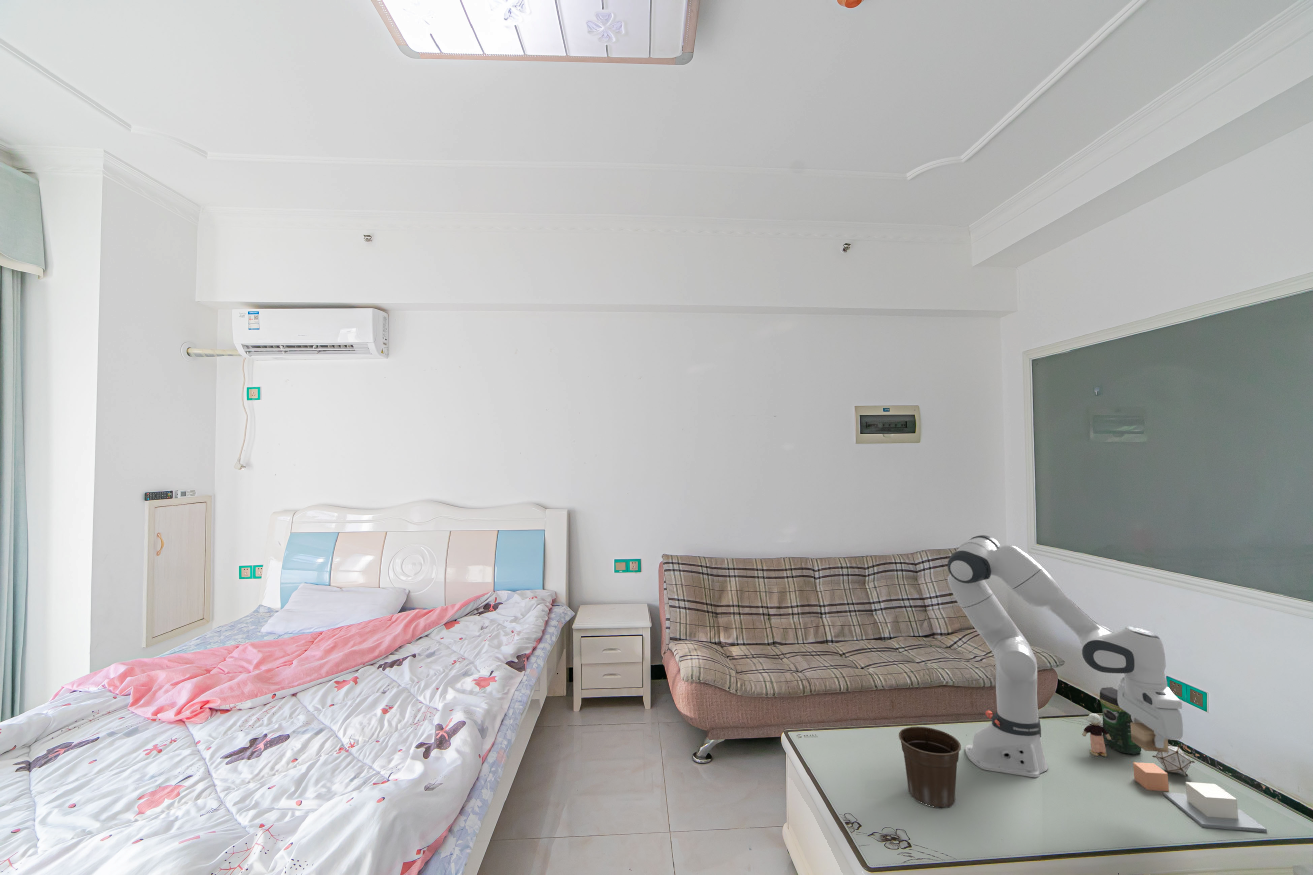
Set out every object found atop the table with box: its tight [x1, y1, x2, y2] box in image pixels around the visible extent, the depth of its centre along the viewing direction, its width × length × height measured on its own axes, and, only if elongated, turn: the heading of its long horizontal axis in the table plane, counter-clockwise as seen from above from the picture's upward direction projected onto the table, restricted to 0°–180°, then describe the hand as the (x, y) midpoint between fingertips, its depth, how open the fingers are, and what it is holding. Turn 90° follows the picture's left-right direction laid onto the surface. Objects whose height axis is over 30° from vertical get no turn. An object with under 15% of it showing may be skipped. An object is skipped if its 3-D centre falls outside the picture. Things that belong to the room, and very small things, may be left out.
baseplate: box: [1162, 781, 1268, 833], centre depth 148 cm, size 14×14×6 cm
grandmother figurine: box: [1081, 712, 1111, 757], centre depth 178 cm, size 8×4×13 cm, turn 84°
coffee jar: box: [1099, 686, 1142, 755], centre depth 182 cm, size 10×8×19 cm
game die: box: [1151, 744, 1196, 777], centre depth 167 cm, size 9×8×10 cm
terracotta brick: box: [1132, 762, 1170, 792], centre depth 161 cm, size 6×6×5 cm
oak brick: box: [1130, 722, 1169, 753], centre depth 150 cm, size 6×6×5 cm
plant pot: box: [898, 726, 962, 809], centre depth 159 cm, size 16×16×16 cm
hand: (1149, 740), depth 150 cm, fingers closed on oak brick, 5 cm apart
